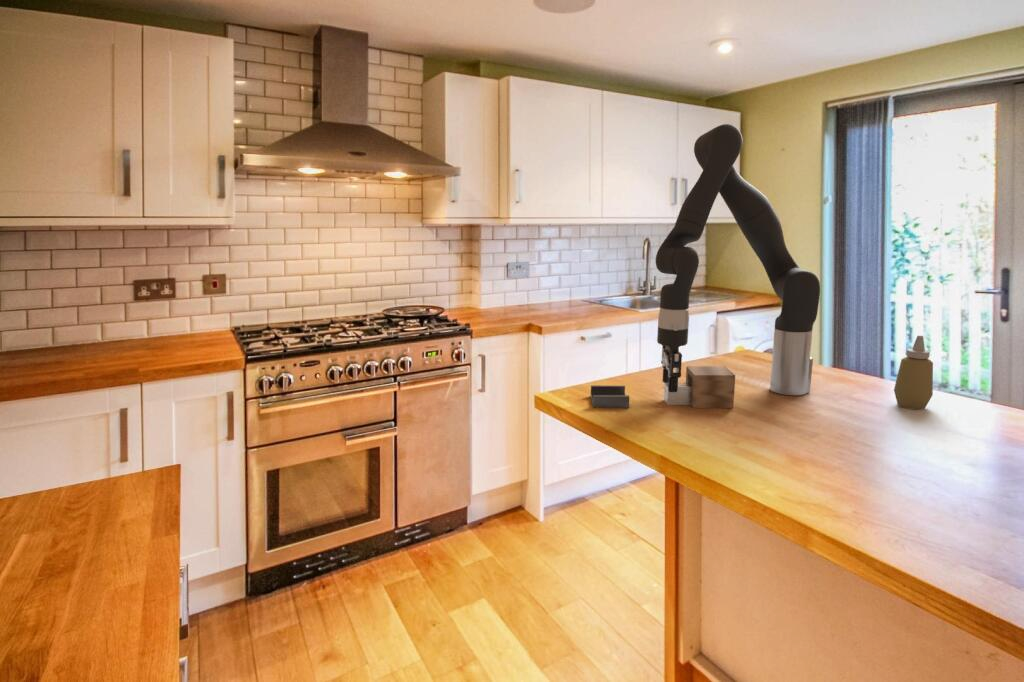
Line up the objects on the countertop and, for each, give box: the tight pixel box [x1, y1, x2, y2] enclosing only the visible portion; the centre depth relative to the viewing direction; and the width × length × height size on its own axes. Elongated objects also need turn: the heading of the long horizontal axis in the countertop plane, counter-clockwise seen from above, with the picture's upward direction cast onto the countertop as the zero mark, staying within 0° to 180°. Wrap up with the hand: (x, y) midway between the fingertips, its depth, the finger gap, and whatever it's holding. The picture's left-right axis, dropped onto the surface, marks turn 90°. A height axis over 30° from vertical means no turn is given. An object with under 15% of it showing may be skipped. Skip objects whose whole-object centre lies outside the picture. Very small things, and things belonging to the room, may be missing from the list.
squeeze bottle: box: [893, 335, 934, 410], centre depth 150 cm, size 8×8×18 cm
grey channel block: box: [590, 384, 630, 409], centre depth 159 cm, size 9×10×3 cm
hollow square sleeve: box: [685, 365, 736, 409], centre depth 157 cm, size 10×9×8 cm
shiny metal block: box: [663, 381, 692, 406], centre depth 157 cm, size 11×4×5 cm, turn 88°
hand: (669, 387), depth 158 cm, fingers open, 8 cm apart
